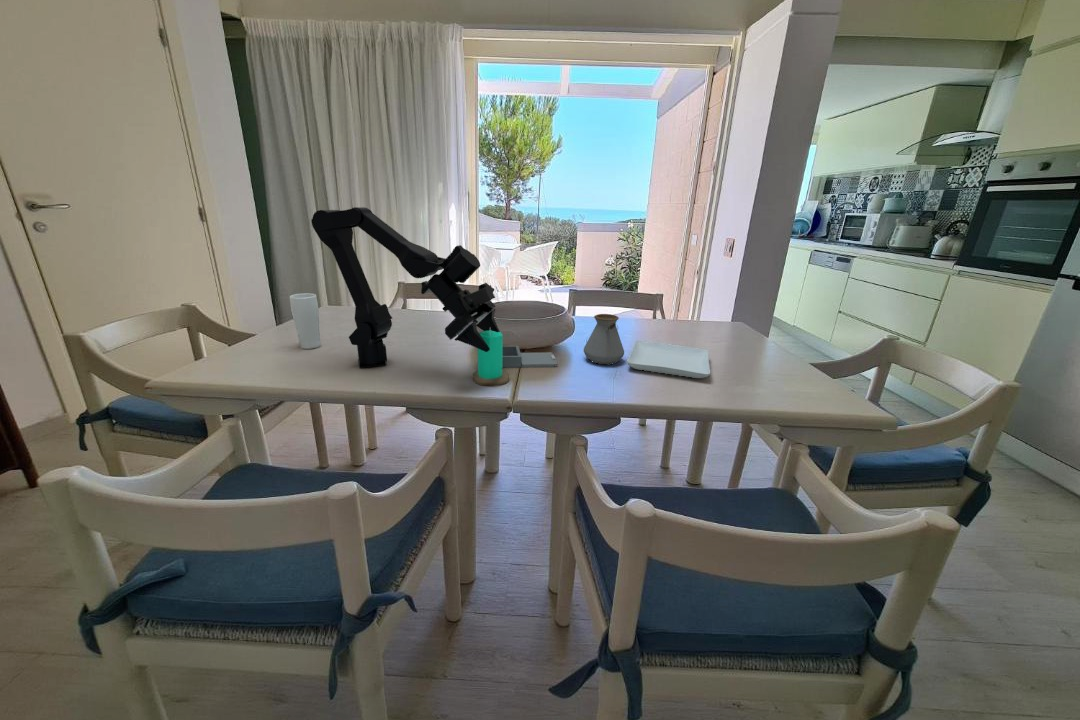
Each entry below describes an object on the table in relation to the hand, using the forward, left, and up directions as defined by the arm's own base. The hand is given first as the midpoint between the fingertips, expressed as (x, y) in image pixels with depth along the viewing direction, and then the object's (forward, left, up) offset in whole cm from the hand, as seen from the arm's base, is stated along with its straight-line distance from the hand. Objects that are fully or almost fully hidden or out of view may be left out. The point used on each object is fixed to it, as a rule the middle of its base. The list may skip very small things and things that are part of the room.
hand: (495, 345), depth 103 cm
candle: (-1, +1, -8) cm, 8 cm away
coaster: (-1, +1, -9) cm, 9 cm away
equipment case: (+11, +10, -9) cm, 17 cm away
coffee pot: (+31, -1, -9) cm, 33 cm away
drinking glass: (-42, +42, -9) cm, 60 cm away
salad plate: (+49, -6, -10) cm, 50 cm away
